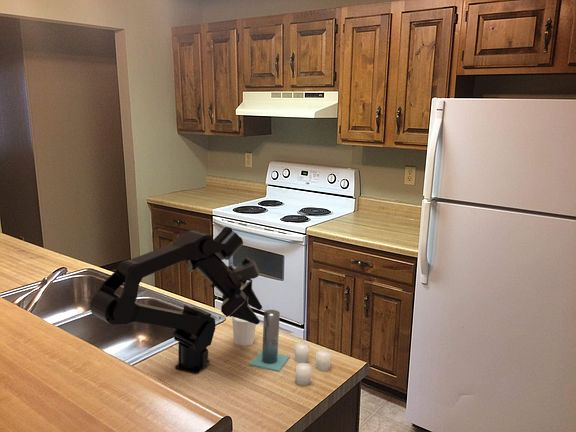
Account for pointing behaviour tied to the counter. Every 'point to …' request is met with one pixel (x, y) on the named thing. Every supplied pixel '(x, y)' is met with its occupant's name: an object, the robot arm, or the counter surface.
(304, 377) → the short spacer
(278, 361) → the teal pad
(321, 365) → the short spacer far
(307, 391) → the counter surface
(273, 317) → the dark metallic domed cylinder
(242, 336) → the white cylinder
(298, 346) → the cylinder
